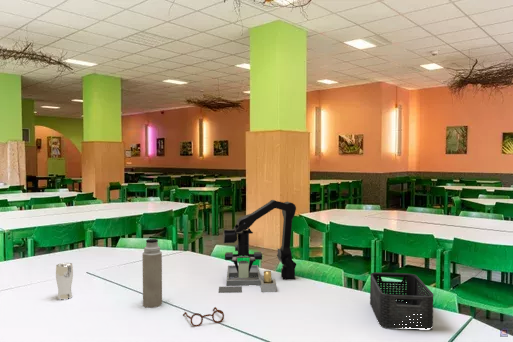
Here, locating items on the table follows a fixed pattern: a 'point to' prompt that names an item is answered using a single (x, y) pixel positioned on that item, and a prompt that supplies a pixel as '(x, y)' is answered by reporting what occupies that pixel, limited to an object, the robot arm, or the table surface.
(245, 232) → the robot arm
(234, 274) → the case
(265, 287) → the grey square socket block
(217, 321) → the glasses
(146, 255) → the thermos bottle
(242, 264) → the module
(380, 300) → the storage bin
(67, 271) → the beer glass
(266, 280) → the rod
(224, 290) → the mat
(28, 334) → the table surface
